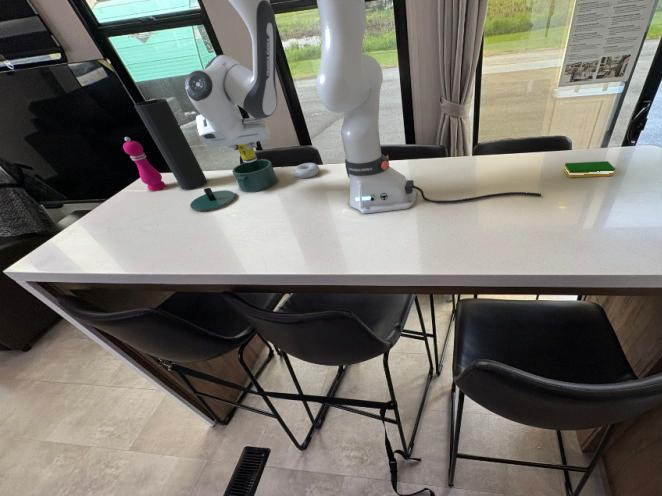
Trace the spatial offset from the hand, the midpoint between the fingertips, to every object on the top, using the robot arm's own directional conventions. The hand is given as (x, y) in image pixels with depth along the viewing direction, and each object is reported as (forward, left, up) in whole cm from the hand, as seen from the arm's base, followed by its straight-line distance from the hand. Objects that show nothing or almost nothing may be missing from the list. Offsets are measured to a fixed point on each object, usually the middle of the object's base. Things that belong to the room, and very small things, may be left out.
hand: (245, 146), depth 110 cm
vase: (+36, -10, -17) cm, 41 cm away
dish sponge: (-116, -7, -17) cm, 118 cm away
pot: (+6, -8, -17) cm, 19 cm away
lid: (+17, +7, -16) cm, 24 cm away
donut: (-12, -16, -17) cm, 26 cm away
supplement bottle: (0, +1, -5) cm, 5 cm away
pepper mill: (+52, -8, -17) cm, 55 cm away
